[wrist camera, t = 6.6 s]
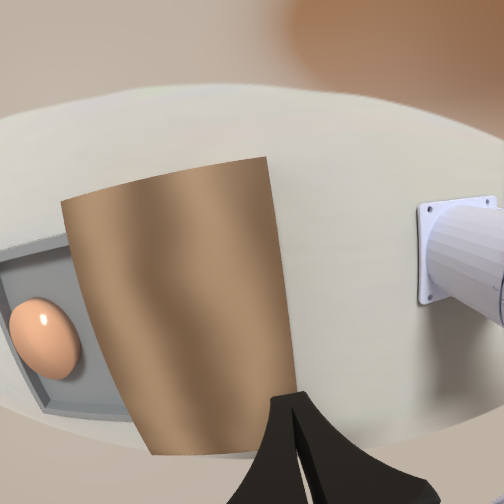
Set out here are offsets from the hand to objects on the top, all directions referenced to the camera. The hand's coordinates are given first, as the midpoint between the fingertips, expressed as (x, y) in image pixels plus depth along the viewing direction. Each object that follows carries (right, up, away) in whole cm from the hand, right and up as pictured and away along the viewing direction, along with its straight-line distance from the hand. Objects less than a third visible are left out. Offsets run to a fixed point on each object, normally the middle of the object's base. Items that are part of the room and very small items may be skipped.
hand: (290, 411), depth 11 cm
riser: (-5, +1, +10) cm, 12 cm away
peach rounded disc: (-19, -1, +8) cm, 20 cm away
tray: (-18, -1, +10) cm, 20 cm away
